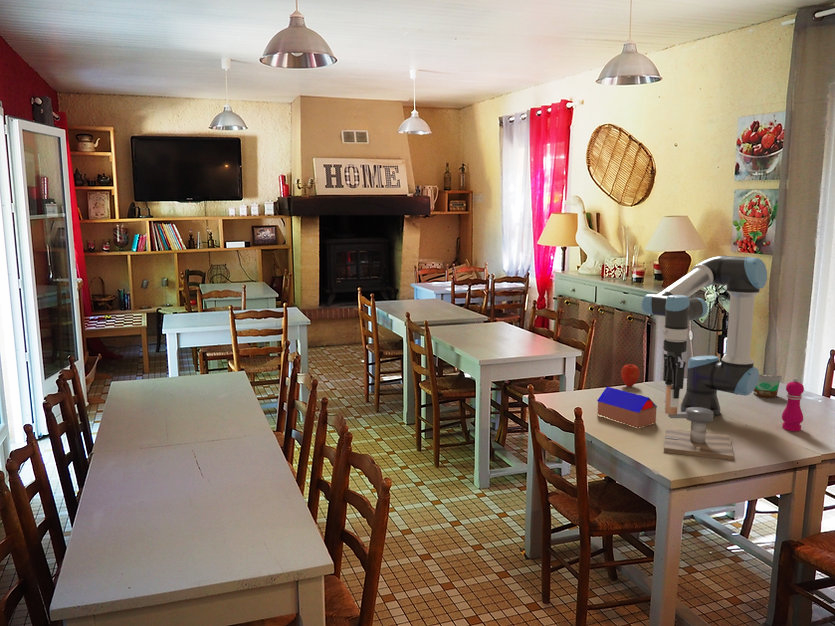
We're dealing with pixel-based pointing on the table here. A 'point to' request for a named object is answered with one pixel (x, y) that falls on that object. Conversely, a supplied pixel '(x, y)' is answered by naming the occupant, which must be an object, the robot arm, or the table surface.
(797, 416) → the pepper mill
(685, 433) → the post base
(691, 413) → the crank handle
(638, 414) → the house
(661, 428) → the table surface
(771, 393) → the food container
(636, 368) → the apple
